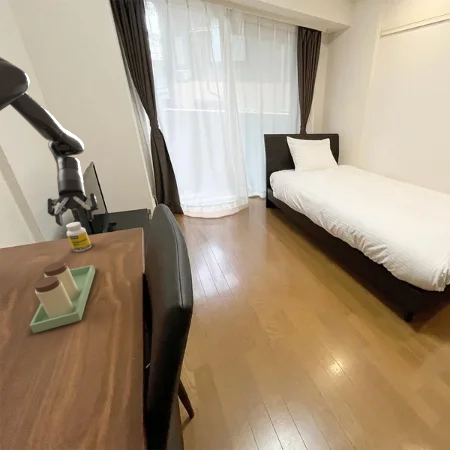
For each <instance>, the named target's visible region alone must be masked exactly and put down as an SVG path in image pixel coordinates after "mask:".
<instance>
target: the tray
mask: <svg viewBox="0 0 450 450" xmlns="http://www.w3.org/2000/svg"><path fill="white" fill-rule="evenodd" d="M69 270H70V272H71V275H72V277H73V279H74V281H75V283H76V286H77V288H78V290H79V292H80V293H79V295H78V296H77V297H76V298H74V299H73V300H70V301H71V303H72V305H73V307H74V311H73V312H72V313H71V314H67V315H63V316H59V317H55V318H52V319H50V318H49V317H48V315H47V313H46V311H45V309H44V307H43V306H42V304H41V303H40V304H39V305H38V307H37V310H36V312H35V313H34V316H33V318H32V320H31V322H30V324H29V328H30V330H31V331H32V333H33V334H36V333H40V332H43V331H47V330H51V329H54V328H58V327H61V326H65V325H69V324H72V323H77V322H79V321H82V318H83V314H84V311H85V307H86V304H87V301H88V298H89V295H90V291H91V287H92V284H93V280H94V277H95V274H96V269H95V267H94V264H90V265H85V266H80V267H76V268H71V269H70V268H69Z"/></svg>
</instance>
